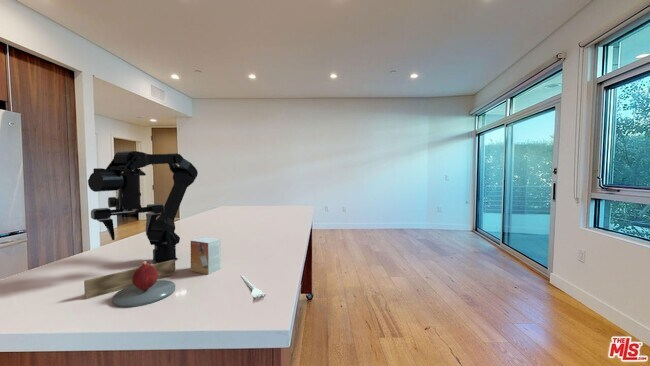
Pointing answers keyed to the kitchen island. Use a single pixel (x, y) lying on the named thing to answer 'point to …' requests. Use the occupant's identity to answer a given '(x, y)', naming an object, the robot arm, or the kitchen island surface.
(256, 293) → the fork
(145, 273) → the onion
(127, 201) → the robot arm
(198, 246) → the small box
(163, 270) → the walnut screen
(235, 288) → the kitchen island surface
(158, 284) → the slate plate
